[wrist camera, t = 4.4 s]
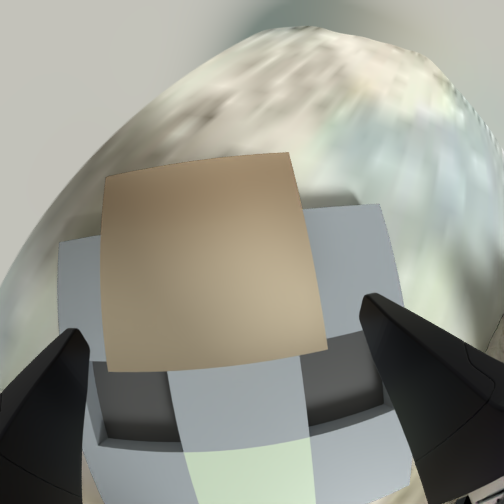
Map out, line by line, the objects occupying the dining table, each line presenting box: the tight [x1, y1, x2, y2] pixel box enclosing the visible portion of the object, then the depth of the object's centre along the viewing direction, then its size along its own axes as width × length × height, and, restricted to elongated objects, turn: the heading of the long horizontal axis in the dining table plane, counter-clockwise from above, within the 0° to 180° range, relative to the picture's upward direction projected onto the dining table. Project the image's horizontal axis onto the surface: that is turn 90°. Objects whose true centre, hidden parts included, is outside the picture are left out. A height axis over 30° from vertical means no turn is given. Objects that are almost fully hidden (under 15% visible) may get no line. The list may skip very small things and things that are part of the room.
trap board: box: [57, 204, 412, 504], centre depth 14 cm, size 22×22×2 cm
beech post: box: [100, 152, 328, 372], centre depth 10 cm, size 4×4×10 cm
